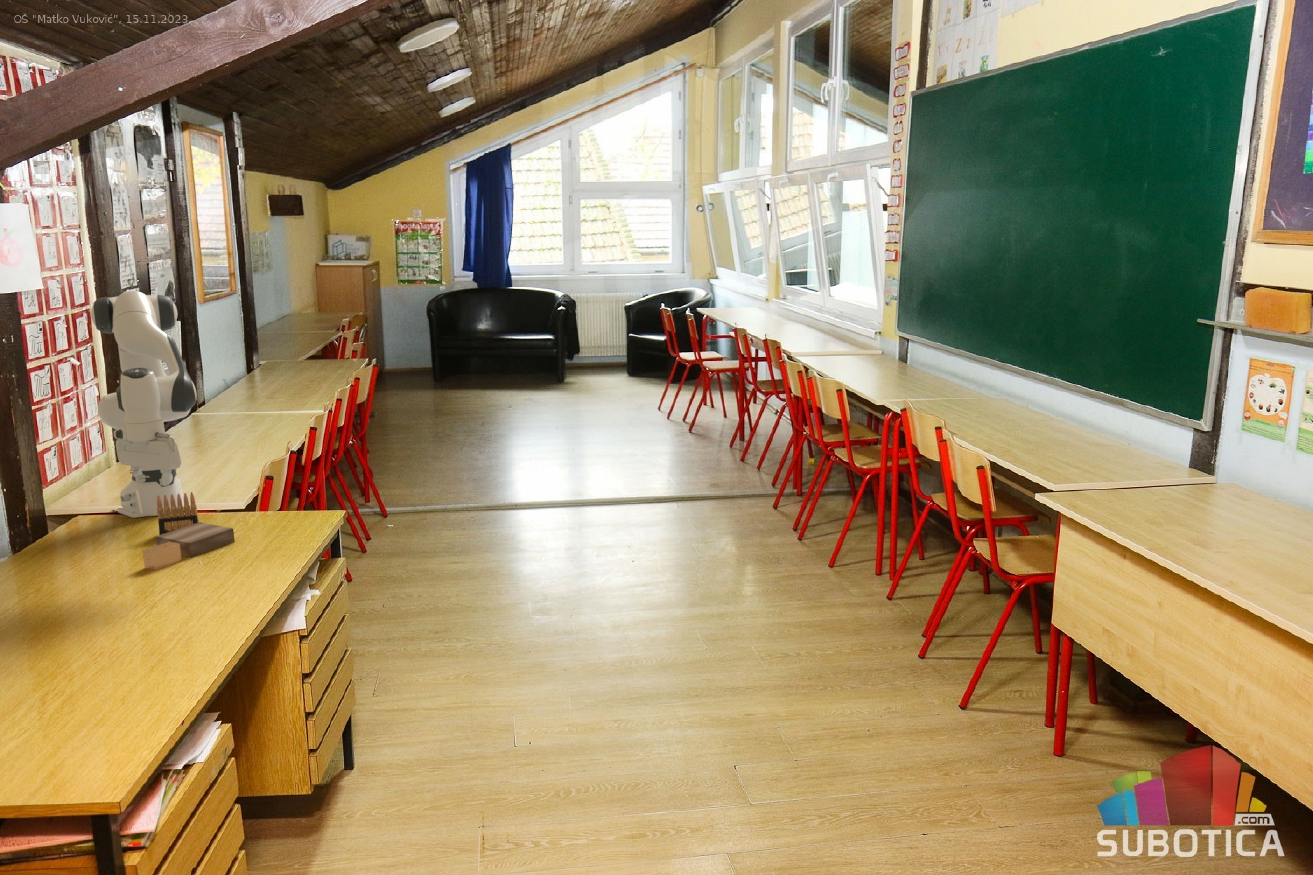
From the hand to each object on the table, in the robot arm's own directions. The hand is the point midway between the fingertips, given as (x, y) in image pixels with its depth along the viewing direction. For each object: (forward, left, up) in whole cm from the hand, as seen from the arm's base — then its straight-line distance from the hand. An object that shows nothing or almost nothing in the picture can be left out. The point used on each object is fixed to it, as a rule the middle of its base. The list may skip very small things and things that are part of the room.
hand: (152, 483), depth 251 cm
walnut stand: (-5, +14, -22) cm, 27 cm away
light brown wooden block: (0, 0, -23) cm, 22 cm away
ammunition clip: (-20, +20, -23) cm, 36 cm away
